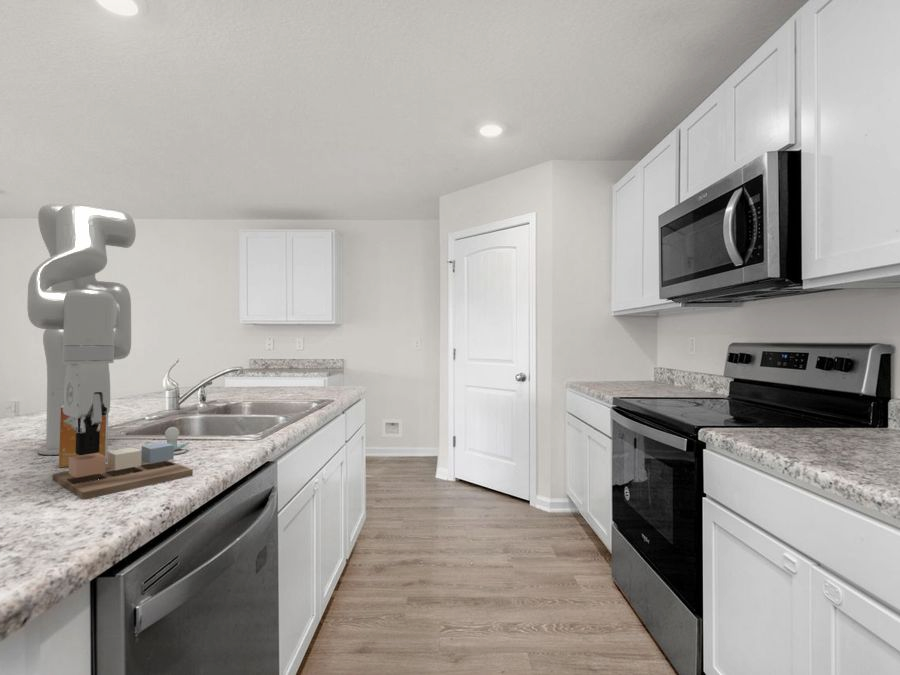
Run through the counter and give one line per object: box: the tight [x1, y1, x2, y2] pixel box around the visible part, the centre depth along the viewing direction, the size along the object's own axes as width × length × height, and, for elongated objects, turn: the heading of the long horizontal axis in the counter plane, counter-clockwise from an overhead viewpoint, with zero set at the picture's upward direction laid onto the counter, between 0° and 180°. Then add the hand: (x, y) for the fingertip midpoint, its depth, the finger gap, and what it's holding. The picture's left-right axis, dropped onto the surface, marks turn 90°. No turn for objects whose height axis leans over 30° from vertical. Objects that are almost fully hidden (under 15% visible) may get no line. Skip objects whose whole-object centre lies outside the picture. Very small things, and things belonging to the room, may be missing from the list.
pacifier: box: [164, 426, 190, 456], centre depth 111 cm, size 7×6×6 cm
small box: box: [58, 406, 109, 468], centre depth 102 cm, size 8×6×13 cm
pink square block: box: [68, 453, 107, 478], centre depth 86 cm, size 4×4×3 cm
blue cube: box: [141, 441, 175, 464], centre depth 96 cm, size 4×4×3 cm
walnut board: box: [51, 460, 194, 500], centre depth 91 cm, size 18×18×1 cm
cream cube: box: [106, 447, 142, 470], centre depth 91 cm, size 4×4×3 cm
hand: (87, 453), depth 86 cm, fingers closed
